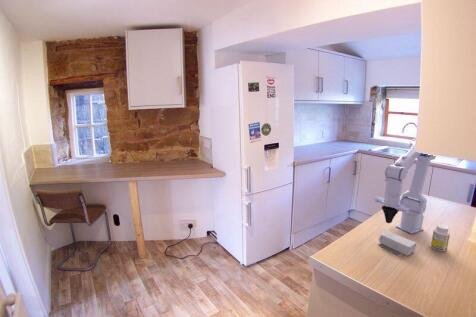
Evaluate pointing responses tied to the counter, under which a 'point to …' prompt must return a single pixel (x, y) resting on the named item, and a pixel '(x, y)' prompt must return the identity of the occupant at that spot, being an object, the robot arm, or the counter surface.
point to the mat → (390, 249)
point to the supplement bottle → (440, 238)
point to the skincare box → (397, 243)
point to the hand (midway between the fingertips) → (388, 222)
